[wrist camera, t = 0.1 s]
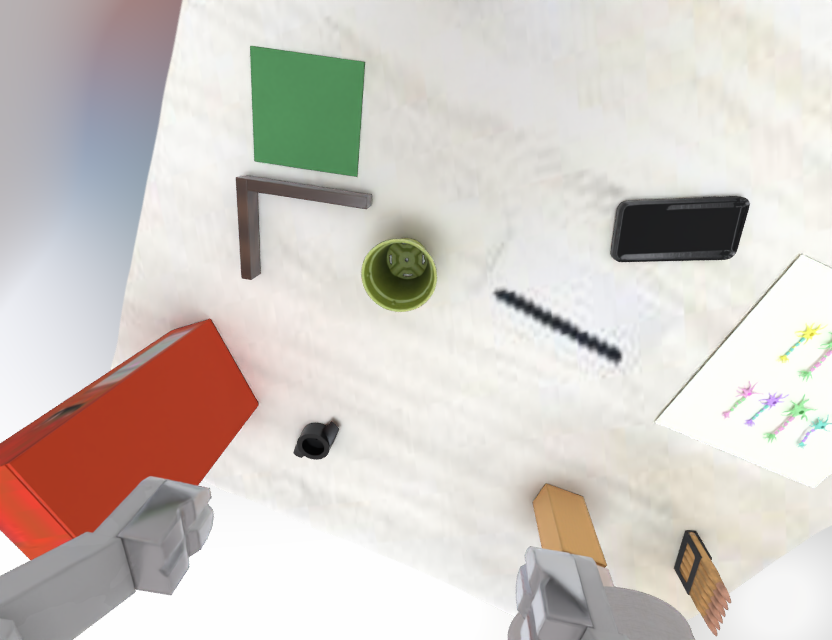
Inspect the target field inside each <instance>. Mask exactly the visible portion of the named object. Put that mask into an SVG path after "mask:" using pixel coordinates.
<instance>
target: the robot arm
mask: <svg viewBox="0 0 832 640" xmlns="http://www.w3.org/2000/svg"><path fill="white" fill-rule="evenodd" d="M210 499H211V492H210V488H207V487H202V486H197V485H192V484H188V483H183V482H178V481H173V480H169V479H164V478H158V477H153V476H149V477H147V478H146V479H144V480H142V481H141V482H140V483H139V484H138V485H137V487H136V488H135V489H134V490H133V491H132V492H131V493H130V494H129V495H128V496H127V497H126V498H125V499H124V500H123V501H122V502H121V503H120V505H119V506H118V507H117V508H116V509H115V510H114V511H113V512H112V513H111V514H110V515H109V516H108V517H107V518H106V519H105V520H104V521H103V522H102V524H101V525H100V526H99V527H98V528H97V529H96V530H95V531H94V532H93V533H92V532H85V533H83V534H81V535H80V536H78V537H76V538H74V539H72V540H70V541H68V542H66V543H64V544H62V545H60V546H58V547H56V548H54V549H52V550H50V551H48V552H46V553H44V554H42V555H40V556H38V557H37V558H35V559H33V560H31V561H29V562H27V563H25V564H23V565H21V566H19V567H17V568H15V569H13V570H11V571H10V572H7V573H5V574H4V575H1V576H0V640H73V639H74V638H75V637H77V636H78V635H79V634H81V633H82V632H83V631H85V630H86V629H87V628H89V627H90V626H91V625H92V624H94V623H95V622H97V621H98V620H99V619H100V618H102V617H103V616H104V615H106V614H107V613H108V612H110V611H111V610H112V609H114V608H115V607H116V606H118V605H119V604H120V603H121V602H123V601H124V600H126V599H127V598H128V597H130V596H131V595H132V594H133V593H135V589H136V590H143V591H148V592H154V593H160V594H167V595H172V593H173V592H174V590H175V589H176V587H177V586H178V584H179V582H180V581H181V579H182V578H183V576H184V575H185V573H186V572H187V570H188V568H189V557H190V556H191V555H193V554H194V553H196V552H197V551H199V550H201V548H202V546H203V545H204V543H205V541H206V540H207V538H208V536H209V533H210V531H211V528H212V525H213V517H214V514H213V509H212V508H211V507H210V506H209V505H208V504H207V503H208V502H209V500H210ZM525 561H526V564H525V565H523V566H521V567H520V569H519V572H518V575H517V583H516V601H517V610H518V611H519V613H520V614H521V616H522V617H523V619H524V623H523V625H522V627H521V630H520V635H521V640H630V639H629V638H628V637H627V636H626V635H625V634H621V633H619V632H618V629H617V626H616V623H615V620H614V616H613V613H612V610H611V607H610V604H609V601H608V598H607V595H606V592H605V589H604V586H603V583H602V580H601V577H600V574H599V571H598V568H597V565H596V562H595V561H594V560H593V558H591V557H587V556H581V555H575V554H570V553H567V552H561V551H555V550H549V549H543V548H537V547H531V546H530V547H529V548H528V549H527V551H526V553H525Z"/></svg>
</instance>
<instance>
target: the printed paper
mask: <svg viewBox="0 0 832 640" xmlns="http://www.w3.org/2000/svg"><path fill="white" fill-rule="evenodd" d="M655 423H657V424H659V425H662V426H664V427H667V428H669V429H671V430H674V431H676V432H679V433H681V434H683V435H686V436H688V437H691V438H693V439H695V440H698V441H700V442H703V443H705V444H707V445H710V446H712V447H715V448H717V449H719V450H722V451H724V452H727V453H729V454H731V455H734V456H736V457H739V458H741V459H743V460H746V461H748V462H751V463H753V464H755V465H758V466H760V467H763V468H765V469H767V470H770V471H772V472H775V473H777V474H779V475H782V476H784V477H787V478H789V479H791V480H794V481H796V482H799V483H801V484H803V485H806V486H808V487H811V488H813V489H814V488H815V487H816V486H817V485H819V484H820V483H821V482H822V481H823V480H825V479H826V478H827V477H828V476H830V475H831V474H832V268H830V267H828V266H826V265H824V264H821V263H819V262H817V261H815V260H813V259H811V258H808V257H806V256H804V255H802V254H801V256H800V257H799V258H798V259H797V260H796V261H795V262H794V264H793V265H792V266H791V267H790V268H789V269H788V270H787V272H786V273H785V274H784V275H783V276H782V277H781V278H780V280H779V281H778V282H777V283H776V284H775V285H774V286H773V288H772V289H771V290H770V291H769V292H768V293H767V294H766V296H765V297H764V298H763V299H762V300H761V301H760V302H759V304H758V305H757V306H756V307H755V308H754V309H753V310H752V312H751V313H750V314H749V315H748V316H747V317H746V318H745V320H744V321H743V322H742V323H741V324H740V325H739V326H738V328H737V329H736V330H735V331H734V332H733V333H732V334H731V336H730V337H729V338H728V339H727V340H726V341H725V342H724V344H723V345H722V346H721V347H720V348H719V349H718V350H717V352H716V353H715V354H714V355H713V356H712V357H711V358H710V359H709V361H708V362H707V363H706V364H705V365H704V366H703V367H702V369H701V370H700V371H699V372H698V373H697V374H696V375H695V377H694V378H693V379H692V380H691V381H690V382H689V383H688V385H687V386H686V387H685V388H684V389H683V390H682V391H681V393H680V394H679V395H678V396H677V397H676V398H675V399H674V401H673V402H672V403H671V404H670V405H669V406H668V407H667V409H666V410H665V411H664V412H663V413H662V414H661V415H660V417H659V418H658V419H657V420H656V421H655Z"/></svg>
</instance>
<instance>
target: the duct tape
mask: <svg viewBox="0 0 832 640" xmlns="http://www.w3.org/2000/svg"><path fill="white" fill-rule="evenodd" d="M338 430H339V428H338V427H337V426H336V425H335V424H334V423H333V422H332V421H331V422H330V423H329V424H328V425H327V426H326V425H324V424H321V423H311V424H308V425H307V426H306V427H305V428H304V430H303V432H302V433H301V435H300V437H299V439H298V441H297V445H296V447H295V450H294V454H295V455H296V456H298V457H301V458H302V457H303V456H306V457H307V458H310V459H322V458H324V457H326V456H327V455H328V453H329V450H330V448H331V446H332V444H333V442H334V440H335V438H336V435H337V433H338Z"/></svg>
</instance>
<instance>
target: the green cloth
mask: <svg viewBox="0 0 832 640" xmlns="http://www.w3.org/2000/svg"><path fill="white" fill-rule="evenodd" d="M250 56H251V83H252V109H253V136H254V161H256V162H263V163H269V164H276V165H283V166H289V167H296V168H302V169H309V170H316V171H322V172H329V173H335V174H342V175H348V176H355V177H357V173H358V158H359V143H360V128H361V112H362V97H363V82H364V67H365V62H361V61H354V60H347V59H340V58H333V57H326V56H319V55H312V54H305V53H298V52H290V51H283V50H276V49H269V48H262V47H255V46H250Z"/></svg>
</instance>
